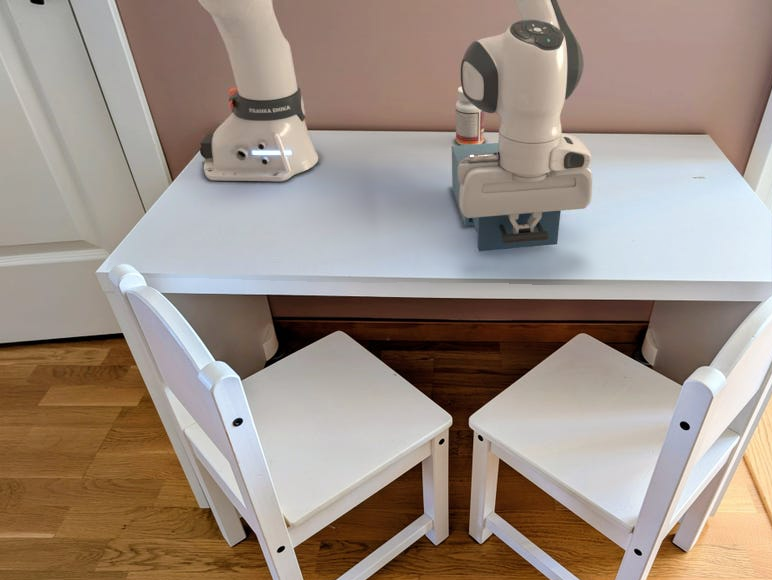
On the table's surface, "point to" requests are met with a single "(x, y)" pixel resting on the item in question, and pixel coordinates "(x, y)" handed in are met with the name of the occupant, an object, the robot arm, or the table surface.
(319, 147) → the table surface
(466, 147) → the cabinet
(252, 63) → the robot arm
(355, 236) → the table surface
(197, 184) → the table surface
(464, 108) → the pill bottle
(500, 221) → the drawer
